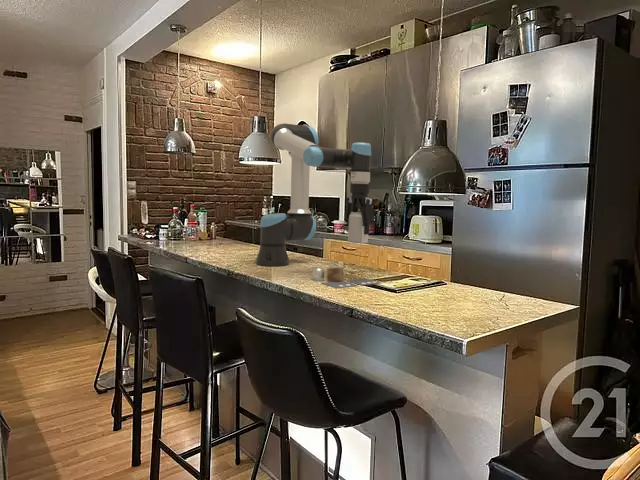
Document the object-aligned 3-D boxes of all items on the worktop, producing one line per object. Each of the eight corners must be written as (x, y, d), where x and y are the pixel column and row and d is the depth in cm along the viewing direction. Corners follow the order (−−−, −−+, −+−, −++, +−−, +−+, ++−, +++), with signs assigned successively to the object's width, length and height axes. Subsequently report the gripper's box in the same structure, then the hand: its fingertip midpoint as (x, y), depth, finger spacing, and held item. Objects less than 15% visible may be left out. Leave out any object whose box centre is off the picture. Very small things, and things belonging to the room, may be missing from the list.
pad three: (345, 281, 182) (345, 279, 181) (365, 279, 187) (365, 277, 187) (361, 286, 173) (361, 284, 173) (382, 284, 179) (382, 282, 179)
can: (367, 241, 189) (368, 211, 188) (367, 243, 182) (368, 212, 181) (348, 240, 190) (349, 211, 189) (347, 242, 183) (349, 211, 181)
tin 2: (327, 279, 187) (327, 266, 186) (336, 278, 189) (336, 265, 189) (333, 280, 183) (334, 268, 183) (342, 280, 186) (343, 267, 185)
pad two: (320, 284, 175) (320, 282, 175) (342, 282, 181) (342, 280, 181) (336, 289, 167) (336, 287, 167) (358, 287, 173) (358, 284, 172)
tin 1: (310, 280, 182) (310, 267, 182) (319, 279, 185) (320, 267, 184) (316, 282, 179) (316, 269, 178) (326, 281, 181) (326, 268, 181)
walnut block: (327, 281, 179) (326, 268, 179) (331, 280, 184) (330, 267, 184) (340, 281, 177) (339, 268, 177) (343, 280, 182) (343, 267, 182)
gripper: (336, 182, 190) (334, 239, 192) (370, 183, 173) (367, 244, 176) (351, 183, 194) (349, 238, 196) (385, 183, 178) (382, 244, 180)
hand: (357, 241), depth 186 cm, fingers closed on can, 7 cm apart
